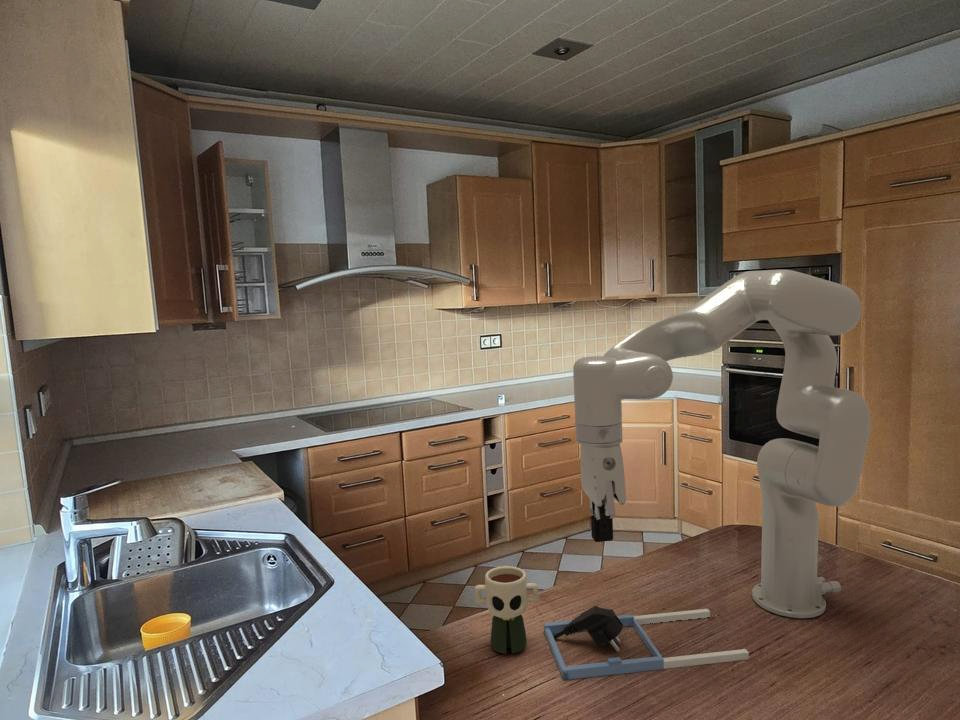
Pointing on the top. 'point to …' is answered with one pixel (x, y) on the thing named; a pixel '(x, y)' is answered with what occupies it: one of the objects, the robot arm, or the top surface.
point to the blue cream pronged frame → (647, 663)
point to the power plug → (596, 626)
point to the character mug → (507, 606)
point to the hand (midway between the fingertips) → (602, 539)
